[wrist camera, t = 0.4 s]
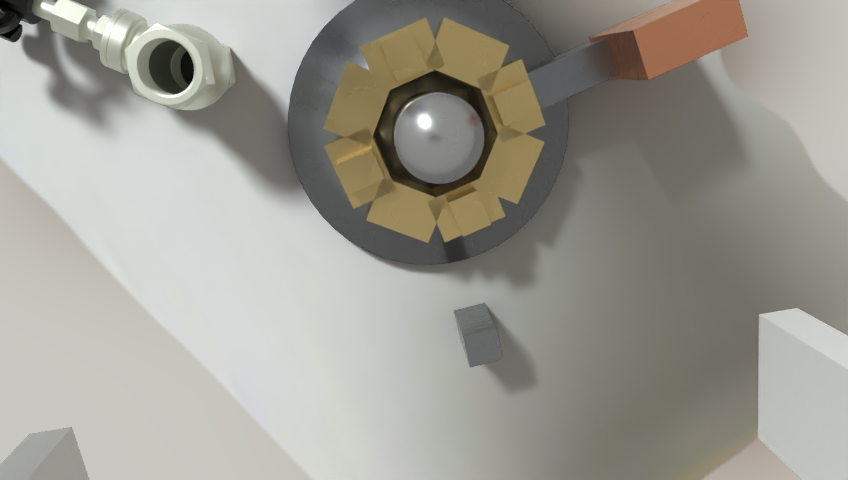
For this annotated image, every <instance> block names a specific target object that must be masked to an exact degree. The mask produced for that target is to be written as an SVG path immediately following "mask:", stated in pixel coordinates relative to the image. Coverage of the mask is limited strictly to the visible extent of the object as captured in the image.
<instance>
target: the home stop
mask: <svg viewBox="0 0 848 480" xmlns="http://www.w3.org/2000/svg"><path fill="white" fill-rule="evenodd" d="M454 313H455V317H456V321H457V325H458V330H459V334H460V338H461V341H462V344H463V347H464V350H465V353H466V356H467V359H468V362H469V365H470V367H474V366H478V365H482V364H486V363H490V362H494V361H498V360H502V359H503V355H502V350H501V345H500V341H499V336H498V332H497V328H496V326H495V324H494V322H493V320H492V317H491V315H490V313H489V311H488V309H487V307H486V305H485V303H483V304H479V305H475V306H471V307H467V308H463V309H459V310H455V311H454Z"/></svg>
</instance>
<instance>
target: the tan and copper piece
mask: <svg viewBox="0 0 848 480" xmlns="http://www.w3.org/2000/svg"><path fill="white" fill-rule="evenodd" d="M747 36H748V34H747V30H746V26H745V22H744V19H743V15H742V11H741V7H740V3H739V0H673V1H670V2H668V3H666V4H664V5H661V6H659V7H657V8H655V9H652V10H650V11H648V12H646V13H643V14H641V15H639V16H637V17H634V18H632V19H630V20H628V21H625V22H623V23H621V24H618V25H616V26H614V27H612V28H609V29H607V30H605V31H603V32H600V33H598V34H596V35H594V36H591V37H589V39H590V41H589V42H587V43H585V44H582V45H580V46H578V47H576V48H573V49H571V50H569V51H567V52H564V53H562V54H560V55H557V56H555V57H553V58H551V59H548V60H546V61H544V62H542V63H539V64H537V65H535V66H533V67H530V68H528V69H525V66H524V64H523V61H522V59H517V60H510V61H508V62H505V63H503V60H504V58H505V56H506V53H507V51H508V48H509V45H507V44H504V43H502V42H500V41H498V40H495V39H493V38H491V37H488V36H486V35H484V34H481V33H479V32H477V31H475V30H472V29H470V28H468V27H465V26H463V25H461V24H459V23H456V22H454V21H452V20H449V19H447V18H445V17H444V18H443V19H442V20H440V21H439V23H438V25H437V28H436V31H435V33H434V36H433V34H432V31H431V29H430V26H429V24H428V21H427V19H426V18H423V19H421V20H419V21H417V22H414V23H412V24H410V25H408V26H406V27H403V28H401V29H399V30H397V31H394V32H392V33H390V34H388V35H385V36H383V37H381V38H379V39H376V40H374V41H372V42H370V43H368V44H365V45H363V46H361V47H360V49H361V51H362V53H363V56H364V58H365V60H366V63H367V65H368V67H369V70H368V69H366V68H363V67H361V66H359V65H356V64H354V63H351V62H349V61H347V63H346V65H345V68H344V71H343V74H342V77H341V79H340V82H339V85H338V88H337V91H336V93H335V96H334V99H333V102H332V105H331V107H330V110H329V113H328V116H327V119H326V122H325V124H324V127H323V129H325V130H328V131H331V132H333V133H336V134H338V135H341V136H338V137H336V138H334V139H332V140H329V141H327V143H326V144H325V146H324V148H325V150H326V152H327V154H328V156H329V158H330V160H331V163H332V165H333V167H334V169H335V171H336V173H337V175H338V177H339V179H340V182H341V184H342V186H343V188H344V190H345V192H346V194H347V196H348V198H349V201H350V203H351V205H352V207H353V209H354V208H356V207H359V206H361V205H363V204H366V203H368V202H370V203H369V205H368V208H367V213H366V220H367V221H369V222H372V223H375V224H377V225H380V226H383V227H386V228H388V229H391V230H394V231H397V232H399V233H402V234H405V235H407V236H410V237H413V238H416V239H418V240H421V241H424V242H427V243H428V242H429V240H430V237H431V235H432V233H433V230H434V228H435V225H436V223H437V225H438V228H439V230H440V232H441V235H442V237H443V239H444V242H447V241H450V240H452V239H454V238H457V237H459V236H461V235H462V236H463V237H464V236H466V235H468V234H471V233H473V232H475V231H478V230H480V229H482V228H485V227H487V226H489V225H491V222H493V221H496V220H498V219H500V218H503V217H505V214H504V211H503V209H502V206H501V204H500V201H499V199H498V197H500V198H503V199H506V200H508V201H511V202H513V203H516V204H518V202H519V200H520V198H521V195H522V193H523V191H524V188H525V186H526V184H527V182H528V179H529V177H530V175H531V173H532V170H533V168H534V166H535V163H536V161H537V159H538V157H539V154H540V152H541V150H542V148H543V145H544V143H545V142H544V141H541V140H539V139H536V138H534V137H531V136H529V135H527V134H525V133H527V132H530V131H532V130H534V129H536V128H539V127H541V126H543V125H546V124H545V121H544V119H543V116H542V113H541V109H543V108H545V107H548V106H550V105H552V104H554V103H557V102H559V101H561V100H563V99H566V98H568V97H570V96H573V95H575V94H577V93H579V92H582V91H584V90H586V89H588V88H591V87H593V86H595V85H598V84H600V83H602V82H604V81H607V80H609V79H631V80H649V79H652V78H654V77H656V76H658V75H661V74H663V73H665V72H668V71H670V70H672V69H674V68H677V67H679V66H681V65H684V64H686V63H688V62H690V61H693V60H695V59H697V58H699V57H702V56H704V55H706V54H709V53H711V52H713V51H715V50H718V49H720V48H722V47H725V46H727V45H729V44H731V43H734V42H736V41H738V40H740V39H743V38H745V37H747ZM502 63H503V64H502ZM432 71H434V72H436V73H439V74H441V75H444V76H446V77H448V78H451V79H453V80H456V81H458V82H460V83H463V84H465V85H468V86H470V87H472V88H473V89H474V92H475V95H476V97H477V100H478V102H479V105H480V107H481V110H482V112H483V115H484V118H485V120H486V123H487V125H488V128H489V132H488V134H487V137H486V139H485V141H484V146H483V150H482V153H481V156H480V158H479V160H478V162H477V163H476V165H475V166H474V168H473V170H472V171H471V172H469V173H467V174H466V175H465V176H463V177H462V178H460V179H458V180H455V181H453V182H449V183H444V184H442V185H440V186H437V187H435V188H433V189H431V188H428V187H426V186H423V185H420V184H418V183H415V182H413V181H410V180H407V179H405V178H402V177H400V176H397V175H394V174H392V173H391V172H390V170H389V168H388V166H387V163H386V161H385V159H384V157H383V154H382V152H381V150H380V148H379V146H378V143H377V141H376V139H375V137H374V131H375V129H376V126H377V123H378V121H379V118H380V115H381V113H382V110H383V107H384V105H385V102H386V99H387V97H388V94H389V91H390V90H391V89H393V88H396V87H398V86H400V85H402V84H405V83H407V82H409V81H411V80H414V79H416V78H418V77H420V76H423V75H425V74H427V73H429V72H432Z"/></svg>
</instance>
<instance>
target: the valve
mask: <svg viewBox="0 0 848 480" xmlns="http://www.w3.org/2000/svg"><path fill="white" fill-rule="evenodd" d="M42 18H43V19H46V20H48V21H50V24H51V29H52V31H54V32H56V33H59V34H61V35H63V36H66V37H68V38H71V39H73V40H75V41H78V42H86V43H87V42H88V40H92V44H93V48H95V49H97V50H99V54H100V60H101V62H102V64H103V65H104V66H106V67H109V68H111V69H113V70H116V71H118V72H121V73H124V74H126V73H129V76H130V79H131V83H132V86H133V89H134V92H135V93H136V94H138V95H140V96H142V97H145V98H147V99H149V100H152V101H154V102H156V103H159V104H162V105H164V106H167V107H169V108H172V109H175V110H177V109H181V110H198V109H202V108H205V107H208V106H210V105H212V104H213V103H215V102H216V101H217V100H218V99H219V98H220V97H221V96H222V95H223V93H224V92H225V91H227V90H228V89H229V88H230V87H232V86H233V85H234V84H235V83H236V76H235V71H234V66H233V60H232V55H231V50H230V47H229V46H226V45H224V44H222V43H220V42H219V41H218V40H217V39H216V38H215V37H214V36H213V35H211V34H210V33H208V32H207V31H205V30H203V29H201V28H199V27H196V26H193V25H188V24H174V25H169V26H166V25H161V24H155V25H154V26H152V27H149V26H148V25H147V21H146V19H145V18H144V17H142V16H140V15H138V14H136V13H133V12H131V11H129V10H126V9H119V10H117V11H116V12H115V13H114V14H113V15H112V16H111V17H110V16H106V15H103V16H102V17H101V18H98V17H96V10H94V9H92V8H89V7H87V6H84V5H82V4H80V3H77V2H75V1H73V0H58V1H57V2H56V1H53V0H0V38H3V39H5V40H8V41H10V42H16V41H18V39H19V38H20V36H21V34H22V25H21V24H19V23H20V21H21V20H22V21H24V22H26V23H29V24H36V23H38V22H39V21H41V19H42ZM186 51H188V53H189V55H190V56H191V58H192V61H193V64H194V76H193V80H192V82H191V84H190V85H188V84H187V83H186V81H185V80H184V78H183V76H182V74H181V70H180V63H181V59H182V56H183V54H184V53H185V52H186Z"/></svg>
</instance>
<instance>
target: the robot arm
mask: <svg viewBox="0 0 848 480" xmlns="http://www.w3.org/2000/svg"><path fill="white" fill-rule="evenodd" d="M758 439H759V440H761V441H762V443H764V444H765V445H766V446H767V447H768V448H769V449H770V450H771V451H772V452H773V453H774V454H775V455H776V456H777V457H778V458H779V459H780V460H782V461H783V462H784V463H785V464H786V465H787V466H788V467H789V468H790V469H791V470H792V471H793V472H794V473H795V474H796V475H797V476H798V477H799V478H801V479H802V480H848V336H847V335H845V334H844V333H842V332H840V331H838V330H836V329H835V328H833V327H831V326H829V325H827V324H825V323H824V322H822V321H820V320H818V319H816V318H814V317H813V316H811V315H809V314H807V313H805V312H804V311H802V310H800V309H798V308H794V309H788V310H782V311H776V312H770V313H764V314H759V368H758ZM0 480H89V477H88V474H87V471H86V468H85V465H84V462H83V459H82V456H81V453H80V450H79V447H78V444H77V441H76V438H75V435H74V432H73V429H72V427H69V428H63V429H57V430H51V431H45V432H39V433H32V434H29V435H28V436H27V437H26V438H25V439H24V441H23V442H22V443H21V444H20V445H19V446H18V447H17V448H16V449H15V450H14V451H13V452H12V453H11V454H10V455H9V456H8V457H7V458H6V459H5V460H4V461H3V462H2V463H1V464H0Z"/></svg>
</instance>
